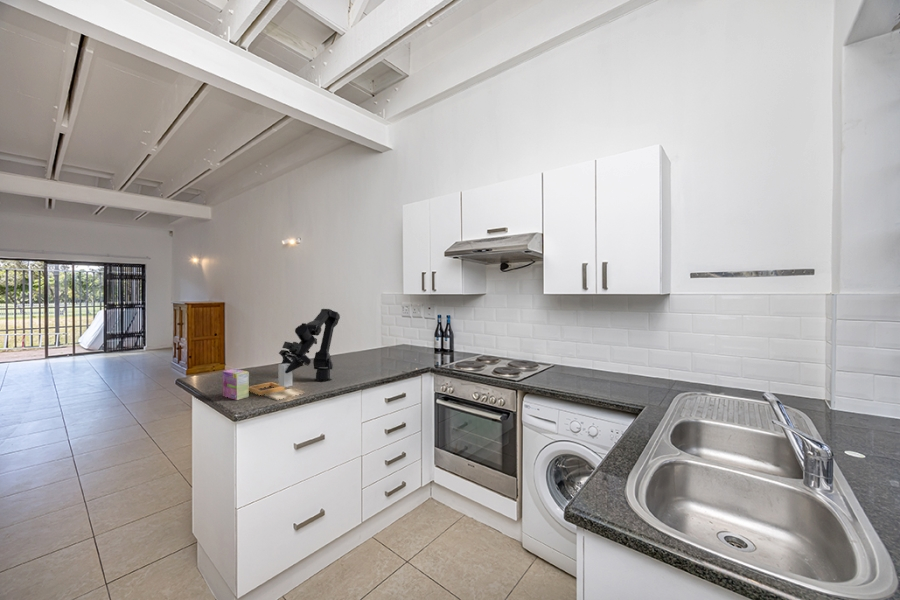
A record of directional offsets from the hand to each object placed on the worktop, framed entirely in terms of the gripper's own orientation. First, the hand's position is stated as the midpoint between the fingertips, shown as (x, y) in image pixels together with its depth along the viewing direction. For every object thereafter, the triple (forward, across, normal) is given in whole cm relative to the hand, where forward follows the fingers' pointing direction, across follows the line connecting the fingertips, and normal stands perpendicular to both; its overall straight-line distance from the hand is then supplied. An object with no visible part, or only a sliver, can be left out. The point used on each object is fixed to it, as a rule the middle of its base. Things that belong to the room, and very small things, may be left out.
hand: (282, 371), depth 169 cm
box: (+18, -13, -2) cm, 23 cm away
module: (+4, 0, +6) cm, 7 cm away
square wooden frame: (+8, -13, +7) cm, 17 cm away
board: (+7, 0, +9) cm, 11 cm away
